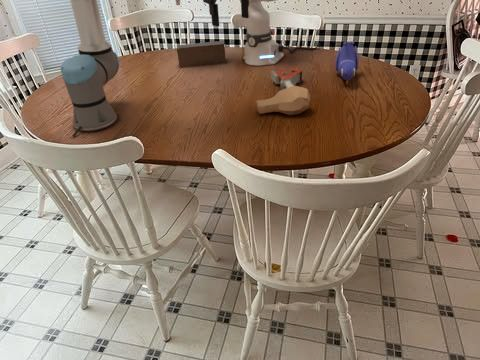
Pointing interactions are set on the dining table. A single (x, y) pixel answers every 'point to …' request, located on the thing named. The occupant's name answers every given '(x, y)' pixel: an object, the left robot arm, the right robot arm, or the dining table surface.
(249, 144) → the dining table surface
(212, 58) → the bar
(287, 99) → the squash
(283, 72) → the tape dispenser
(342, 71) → the toy
